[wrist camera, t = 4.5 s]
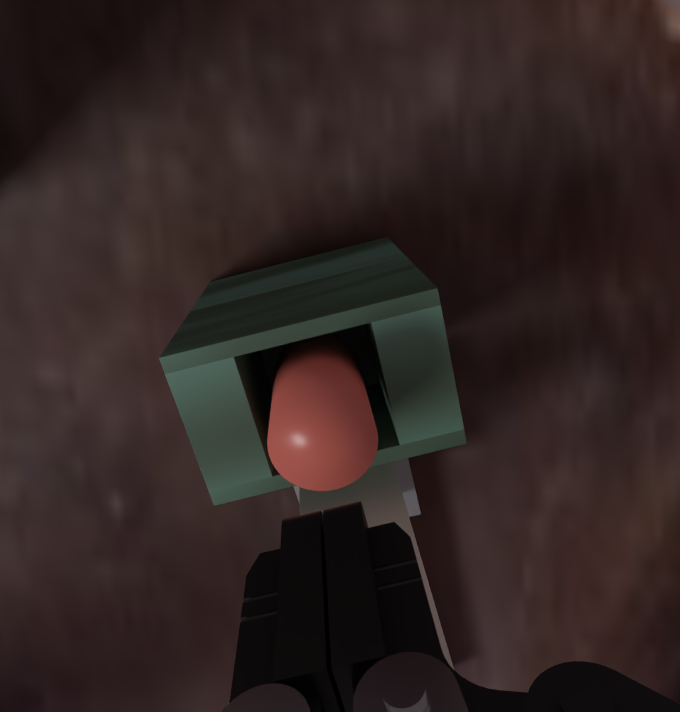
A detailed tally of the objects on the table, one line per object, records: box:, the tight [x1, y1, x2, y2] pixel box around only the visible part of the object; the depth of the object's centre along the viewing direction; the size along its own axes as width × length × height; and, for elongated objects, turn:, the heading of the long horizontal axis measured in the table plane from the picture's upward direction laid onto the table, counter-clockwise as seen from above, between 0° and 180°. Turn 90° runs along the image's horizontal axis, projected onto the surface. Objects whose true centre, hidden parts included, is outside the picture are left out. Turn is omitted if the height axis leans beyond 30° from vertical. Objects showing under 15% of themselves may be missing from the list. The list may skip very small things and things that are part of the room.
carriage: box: [294, 458, 454, 669], centre depth 20 cm, size 6×5×17 cm
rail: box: [159, 237, 467, 506], centre depth 25 cm, size 26×8×10 cm, turn 13°
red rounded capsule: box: [267, 333, 378, 491], centre depth 17 cm, size 3×3×5 cm
